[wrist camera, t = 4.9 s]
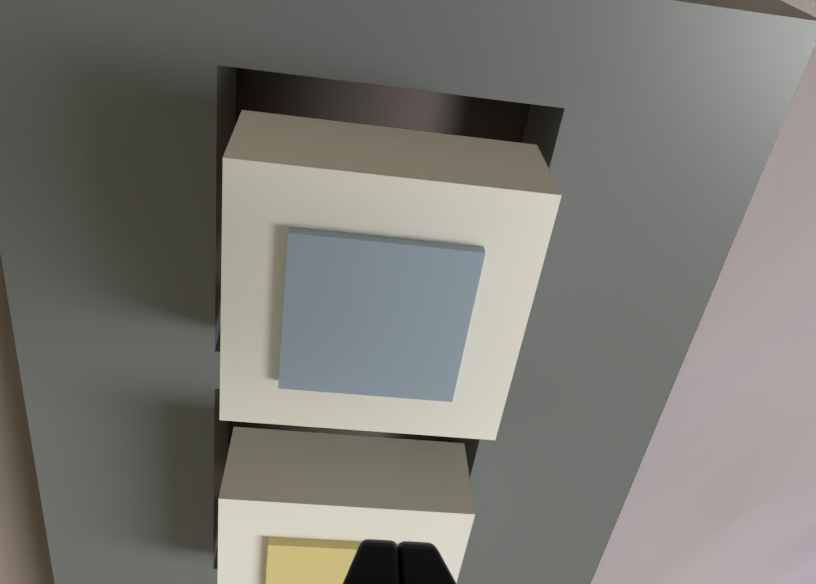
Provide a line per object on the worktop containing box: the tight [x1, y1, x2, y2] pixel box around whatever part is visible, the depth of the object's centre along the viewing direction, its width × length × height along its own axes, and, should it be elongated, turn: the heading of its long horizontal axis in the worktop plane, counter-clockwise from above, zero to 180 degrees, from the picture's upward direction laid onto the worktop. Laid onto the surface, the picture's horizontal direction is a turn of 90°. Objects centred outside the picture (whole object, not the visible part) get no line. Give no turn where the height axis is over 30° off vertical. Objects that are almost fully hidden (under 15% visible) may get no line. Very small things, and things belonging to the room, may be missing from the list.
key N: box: [219, 110, 562, 440], centre depth 13 cm, size 5×5×2 cm
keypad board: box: [0, 0, 816, 584], centre depth 19 cm, size 14×24×2 cm, turn 172°
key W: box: [217, 427, 475, 584], centre depth 17 cm, size 5×5×2 cm
